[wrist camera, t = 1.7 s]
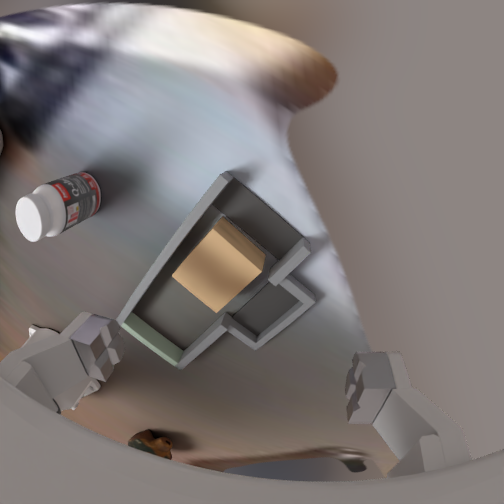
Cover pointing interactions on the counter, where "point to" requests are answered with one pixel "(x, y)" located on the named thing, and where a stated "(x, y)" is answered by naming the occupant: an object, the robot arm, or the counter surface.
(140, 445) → the decorative turtle
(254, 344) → the channel
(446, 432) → the robot arm
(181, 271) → the oak block
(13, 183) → the counter surface
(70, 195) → the pill bottle
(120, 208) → the counter surface
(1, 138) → the decorative stone
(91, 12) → the counter surface
